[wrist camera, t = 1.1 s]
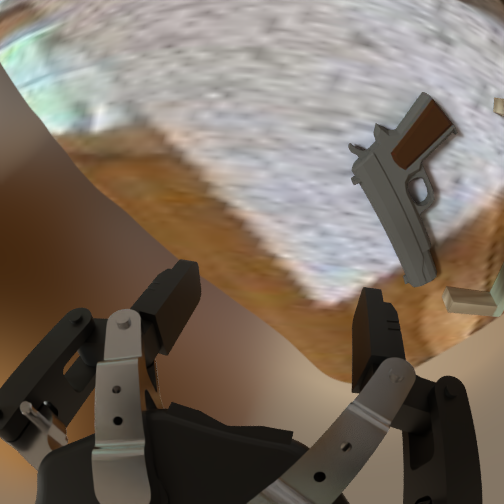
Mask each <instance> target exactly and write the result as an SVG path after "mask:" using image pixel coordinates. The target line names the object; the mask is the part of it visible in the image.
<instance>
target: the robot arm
mask: <svg viewBox="0 0 504 504" xmlns="http://www.w3.org/2000/svg"><path fill="white" fill-rule="evenodd" d="M200 297H201V284H200V275H199V267H198V263H197V262H194V261H188V260H182V259H181V260H179V261H178V262H177V263H176V264H175V266H174V267H173V268H172V269H167V270H165V271H163V272H162V273H160V274H159V275H158V276H157V277H156V278H155V279H154V280H153V283H151V284H150V285H149V286H148V289H146V290H145V291H144V292H143V294H142V295H141V296H140V297H139V299H138V300H137V301H136V302H135V303H134V305H133V306H132V307H131V308H130V309H123V310H119V311H117V312H115V313H114V314H112V315H111V316H110V317H109V319H96V318H93V317H92V315H91V312H90V311H89V310H88V309H86V308H77V309H73V310H72V311H70V312H68V313H67V314H66V315H65V316H64V317H63V318H62V319H61V320H60V321H59V323H57V325H55V326H54V328H53V329H52V330H51V331H50V332H49V333H48V334H47V335H46V336H45V337H44V338H43V339H42V340H41V341H40V343H39V344H38V345H37V346H36V347H35V348H34V349H33V350H32V351H31V353H30V354H29V355H28V356H27V357H26V358H25V359H24V361H23V362H22V363H21V364H20V365H19V366H18V368H17V369H16V370H15V371H14V372H13V373H12V375H11V376H10V377H9V378H8V379H7V381H6V382H5V383H4V384H3V386H2V387H1V388H0V437H1V439H3V440H4V441H5V442H6V443H8V444H9V445H10V446H12V447H13V448H14V449H16V450H17V451H18V452H19V453H20V454H21V455H22V456H23V457H24V458H25V459H26V460H27V461H28V462H29V463H30V464H31V465H32V466H33V467H34V468H35V469H36V470H37V471H38V474H37V497H36V503H35V504H349V502H348V501H347V499H346V498H345V496H344V495H343V493H342V491H343V490H344V489H345V488H346V487H347V486H348V485H349V483H350V482H351V481H352V480H353V479H354V477H355V476H356V475H357V474H358V472H359V471H360V470H361V469H362V467H363V466H364V465H365V463H366V462H367V461H368V459H369V458H370V457H371V455H372V454H373V453H374V451H375V450H376V448H377V447H378V445H379V444H380V443H381V441H382V440H383V438H384V437H385V435H386V434H387V432H388V430H389V428H390V426H391V427H393V428H396V429H400V430H402V437H403V460H404V493H403V504H482V483H481V471H480V462H479V454H478V447H477V440H476V434H475V429H474V424H473V419H472V414H471V410H470V405H469V401H468V397H467V393H466V389H465V387H464V385H463V384H462V382H461V381H460V380H459V379H457V378H455V377H452V376H444V377H441V378H440V379H439V380H438V381H437V382H433V381H430V380H427V379H424V378H421V377H419V376H417V375H416V374H415V370H414V368H413V367H412V365H411V364H410V363H409V362H407V361H406V358H405V352H404V346H403V340H402V334H401V331H400V330H401V329H400V324H399V319H398V314H397V311H396V310H395V308H394V307H393V305H392V304H391V303H387V302H383V296H382V291H381V289H374V288H366V287H363V289H362V292H361V295H360V298H359V301H358V305H357V308H356V311H355V314H354V318H353V324H352V393H359V395H358V396H357V397H356V399H355V400H354V401H353V402H352V403H350V404H349V405H348V407H347V408H346V409H345V410H344V411H343V412H342V414H341V415H340V416H339V417H338V418H337V419H336V421H335V422H334V423H333V424H332V425H331V426H330V427H329V429H328V430H327V431H326V432H325V433H324V434H323V435H322V436H321V437H320V438H319V439H318V440H317V442H316V443H315V444H314V445H313V446H312V447H311V448H308V447H307V446H306V445H304V444H302V443H300V442H299V441H296V440H294V439H292V436H293V431H287V430H281V429H275V428H270V427H264V426H227V425H225V424H223V423H221V422H219V421H217V420H215V419H213V418H212V417H210V416H208V415H206V414H204V413H203V412H201V411H199V410H195V409H192V408H189V407H186V406H183V405H180V404H177V403H173V402H171V405H170V406H169V408H168V409H164V408H163V405H162V401H161V397H160V390H159V383H158V375H157V365H156V360H155V357H156V356H157V354H158V353H160V354H163V355H168V354H169V352H170V351H171V349H172V347H173V346H174V344H175V342H176V340H177V339H178V337H179V335H180V333H181V332H182V330H183V328H184V327H185V325H186V323H187V322H188V320H189V318H190V317H191V315H192V313H193V311H194V310H195V308H196V306H197V305H198V303H199V301H200ZM76 351H78V353H79V355H80V356H79V357H78V359H77V360H76V361H75V362H74V364H73V365H72V366H71V367H70V368H69V370H68V371H67V372H66V374H65V375H63V369H64V366H65V365H66V363H67V362H68V361H69V360H70V358H71V357H72V356H73V355H74V354H75V353H76ZM94 388H95V433H94V434H92V435H90V436H87V437H85V438H83V439H80V440H78V441H75V442H73V443H70V444H67V443H68V439H67V436H66V433H67V432H66V427H67V426H68V424H69V423H70V422H71V420H72V419H73V417H74V416H75V414H76V413H77V411H78V410H79V409H80V407H81V406H82V404H83V403H84V402H85V400H86V399H87V397H88V396H89V395H90V393H91V392H92V391H93V389H94Z"/></svg>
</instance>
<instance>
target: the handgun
mask: <svg viewBox="0 0 504 504" xmlns="http://www.w3.org/2000/svg"><path fill="white" fill-rule="evenodd" d="M451 133H454V134H457V133H458V132H457V130H456V128H455V127H454V125H453V124H452V123H451V121H450V120H449V119H448V117H447V116H446V115H445V113H444V112H443V111H442V110H441V108H440V107H439V106H438V105H437V104H436V102H435V101H434V100H433V99H432V98H431V96H430V95H428V94H427V93H425V92H422V93H421V95H420V96H419V97H418V99H417V100H416V102H415V103H414V104H413V106H412V107H411V109H410V110H409V111H408V113H407V114H406V116H405V117H404V118H403V120H402V121H401V122H400V124H399V125H398V127H397V128H396V129H395V130H387V129H385V128H383V127H382V126H380V125H378V124H377V123H376V124H375V129H374V137H375V140H376V141H375V142H374V143H373V144H372V145H371V146H370V147H369V148H368V149H367V150H361V149H358V148H355V147H354V146H353V145H352V144H351V143H349V145H348V147H349V149H350V151H351V152H352V153H354V154H356V155H357V156H358V157H359V158H358V159H357V160H356V161H355V163H354V164H353V167H352V172H353V173H354V175H355V176H353V177H352V178H351V180H352V183H353V184H354V185H356V184H358V183H359V184H360V185H361V187H362V189H363V190H364V192H365V194H366V196H367V198H368V199H369V201H370V203H371V205H372V207H373V208H374V210H375V212H376V214H377V216H378V218H379V220H380V222H381V224H382V226H383V227H384V229H385V231H386V233H387V235H388V237H389V239H390V242H391V244H392V246H393V248H394V250H395V252H396V254H397V256H398V258H399V261H400V263H401V265H402V267H403V269H404V272H405V274H406V275H404V276H403V277H404V282H405V284H407V283H410V284H411V285H412V286H413V287H418V286H422V285H424V284H426V283H428V282H430V281H432V280H433V279H434V278H435V277H436V275H437V271H436V268H435V265H434V262H433V259H432V256H431V253H430V251H429V249H430V247H431V243H430V240H429V238H428V235H427V232H426V230H425V227H424V225H423V222H422V220H421V217H420V213H421V212H422V211H423V210H425V209H426V208H428V207H430V205H431V204H432V202H433V201H434V193H433V188H432V186H431V183H430V181H429V179H428V176H427V174H426V172H425V170H424V167H423V165H422V163H421V162H422V161H423V160H424V159H425V158H426V157H428V156H429V155H430V154H431V153H432V152H433V151H434V150H435V149H436V148H437V147H438V146H439V145H440V144H441V143H442V142H443V141H444V140H445V139H446V138H447V137H448V136H449V135H450V134H451ZM419 177H420V178H423V180H424V183H425V185H426V187H427V193H428V195H427V197H426V199H425V200H424V201H422V202H414V201H413V200H412V198H411V195H410V193H409V191H408V188H407V185H408V183H409V182H410V181H411V180H413V179H415V178H419Z"/></svg>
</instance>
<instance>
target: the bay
mask: <svg viewBox="0 0 504 504" xmlns="http://www.w3.org/2000/svg"><path fill="white" fill-rule="evenodd" d="M493 112H495V113H497V114H499V115H501V116H504V99H501V98H494V110H493ZM442 298H443V301H444V303H445V306H446V309H447V311H448V312H449V313H460V314H471V315H483V316H496V317H500V316H501V314H502V312H503V310H504V263H503V265H502V267H501V270H500V272H499V274H498V276H497V278H496V280H495V282H494V284H493V287H492V289H491V291H490V292H484V291H477V290H469V289H462V288H454V287H447V286H446V289H445V291H444V293H443V295H442Z"/></svg>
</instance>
